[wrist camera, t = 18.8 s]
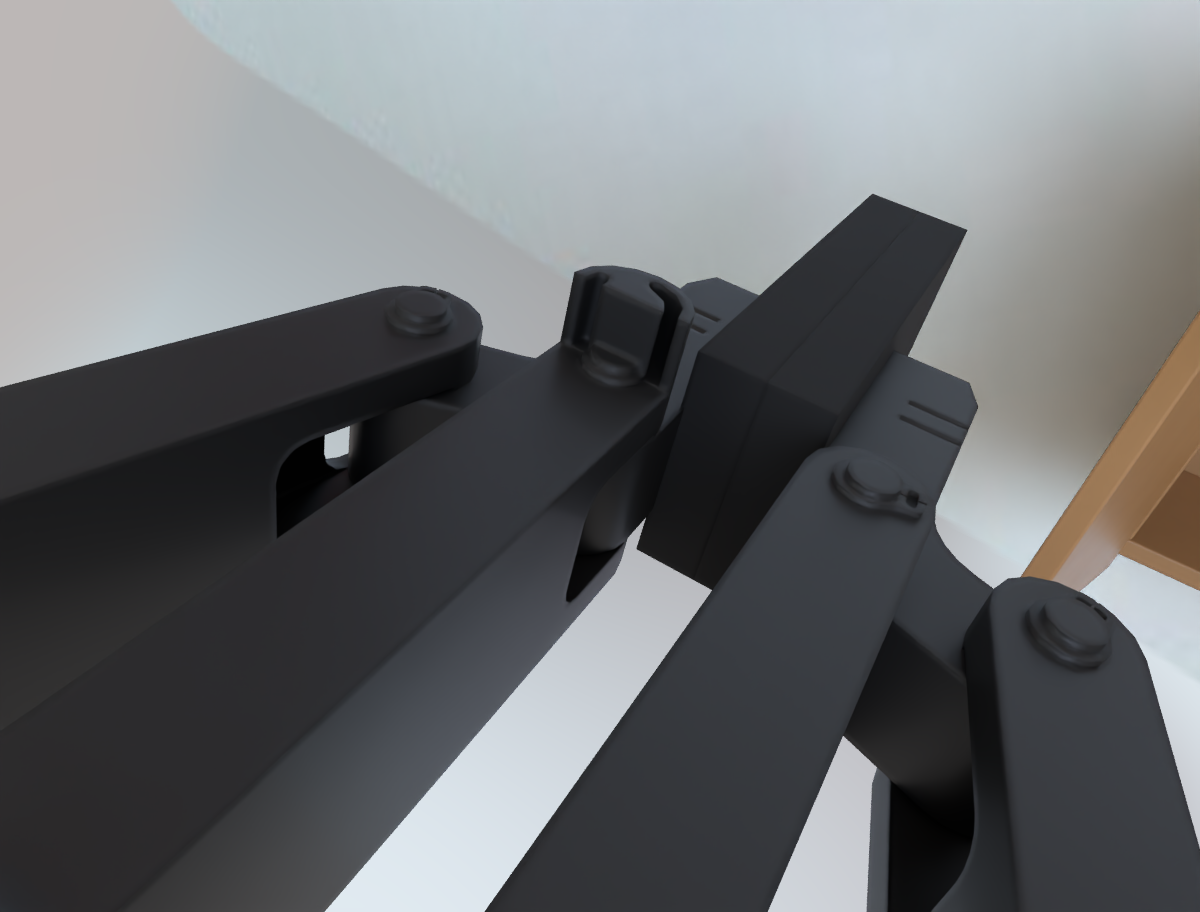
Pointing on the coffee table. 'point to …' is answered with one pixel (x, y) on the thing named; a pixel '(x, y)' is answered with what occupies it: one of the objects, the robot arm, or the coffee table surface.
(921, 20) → the coffee table surface
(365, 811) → the robot arm
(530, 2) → the coffee table surface
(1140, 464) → the flap
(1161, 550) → the carton
